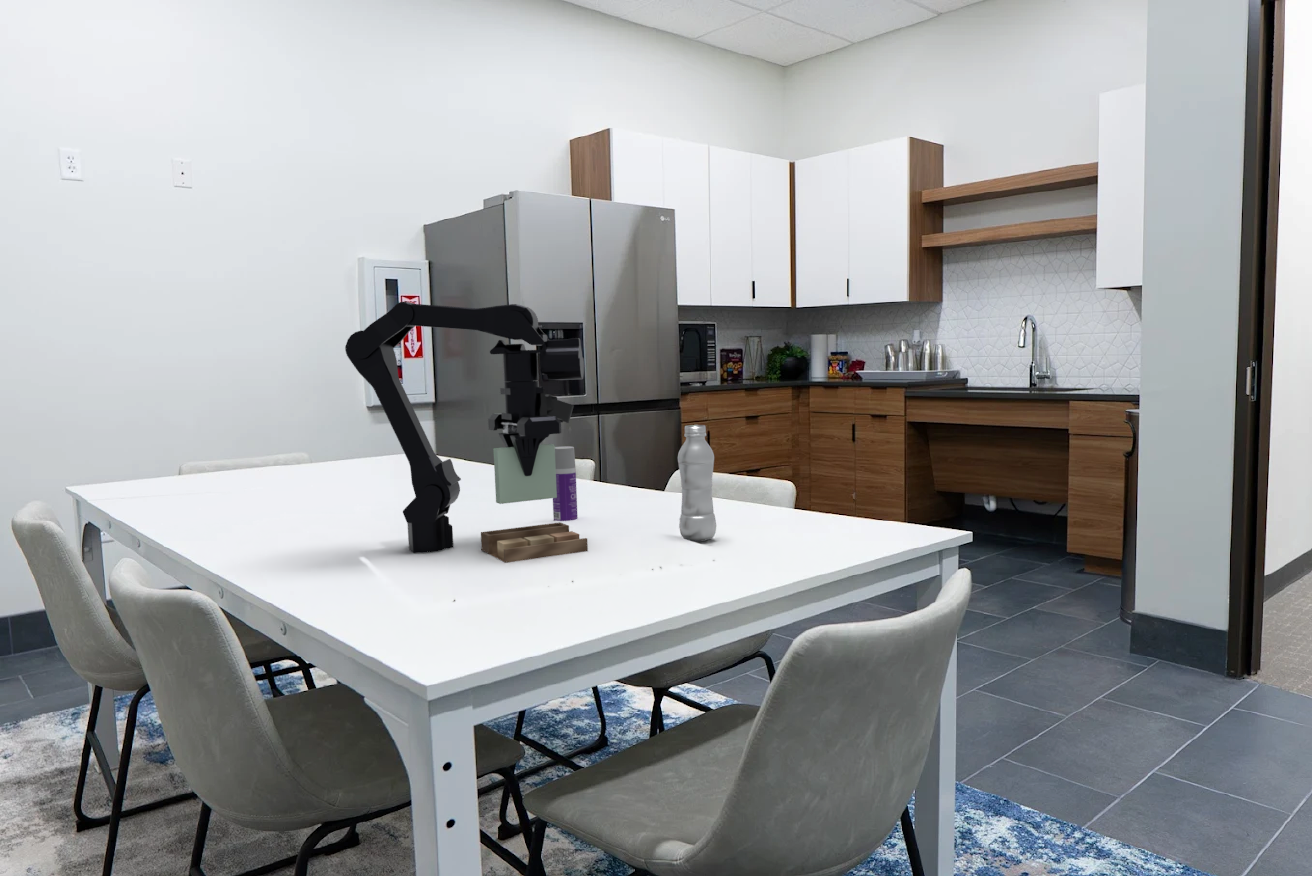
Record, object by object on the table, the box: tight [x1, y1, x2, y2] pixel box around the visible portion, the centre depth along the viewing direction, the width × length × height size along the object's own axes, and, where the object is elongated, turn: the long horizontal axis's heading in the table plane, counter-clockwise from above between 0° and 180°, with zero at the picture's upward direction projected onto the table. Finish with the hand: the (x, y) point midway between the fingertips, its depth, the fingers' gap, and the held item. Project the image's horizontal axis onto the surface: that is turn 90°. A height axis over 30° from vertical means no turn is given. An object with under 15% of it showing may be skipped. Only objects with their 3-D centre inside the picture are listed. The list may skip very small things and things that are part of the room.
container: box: [552, 445, 579, 522], centre depth 178 cm, size 5×5×15 cm
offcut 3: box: [550, 530, 580, 542], centre depth 150 cm, size 4×3×2 cm
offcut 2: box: [524, 535, 554, 546], centre depth 148 cm, size 4×3×2 cm
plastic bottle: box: [677, 424, 717, 543], centre depth 157 cm, size 6×7×20 cm
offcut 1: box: [497, 538, 528, 559], centre depth 145 cm, size 4×3×2 cm
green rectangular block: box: [493, 443, 557, 505], centre depth 152 cm, size 10×2×9 cm, turn 119°
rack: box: [480, 521, 589, 564], centre depth 150 cm, size 14×12×4 cm
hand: (525, 475), depth 152 cm, fingers closed on green rectangular block, 2 cm apart
